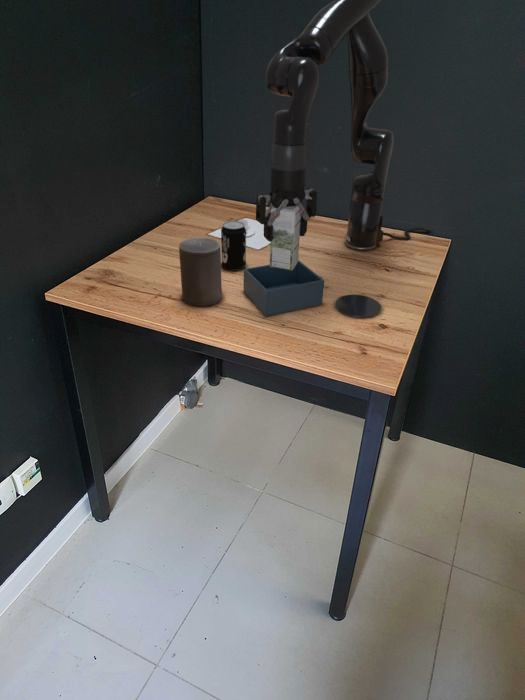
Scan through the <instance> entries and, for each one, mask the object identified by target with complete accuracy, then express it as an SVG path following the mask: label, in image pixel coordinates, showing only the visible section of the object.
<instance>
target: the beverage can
mask: <svg viewBox="0 0 525 700" xmlns="http://www.w3.org/2000/svg"><path fill="white" fill-rule="evenodd" d="M221 228H222V229H221ZM221 228H220V229H221V238H220V239H221V242H220V243H221V266H222V267H224V269H226V270H228V271H239V270H242V269H244V267H245V266H246V265H247V246H246V229H245V227H244V223H242V222H239V221H238V220H228V221H225V222H223V223H222V227H221Z"/></svg>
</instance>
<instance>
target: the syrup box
mask: <svg viewBox="0 0 525 700" xmlns="http://www.w3.org/2000/svg"><path fill="white" fill-rule="evenodd" d="M276 209H277V208H275V207H274V206H272V208H271V212H272V211H273V212H274V211H275V210H276ZM300 224H301V214H300V212H299V206H289V207H285V208H284V209H282V210H280V215H279V217H278V218H276V219H275V221H274V222H273V224H272V226H273V239H272V241H270V244H269V265H270V267H273V268H279V269H285V270H291V271H292V270H293V269H294V267H295V266H296V264H297V263H298V260H299V261H300V259H299V255H300V238H301V236H300Z"/></svg>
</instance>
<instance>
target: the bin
mask: <svg viewBox="0 0 525 700" xmlns="http://www.w3.org/2000/svg"><path fill="white" fill-rule="evenodd" d="M324 289H325V279H323V278H322V277H320V275H318V274H317V273H315V272H314V271H313V270H312V269H311V268H310V267H308V265H306V264H304V263H303V262H302V261H301V260H300V259H299V260H298V263H297V264H296V266H295V267H294V269H293V270H292V271H291V270H285V269H279V268H273V267H270V264H264V265H259V266H253V267H247V268H243V293H244V294H245V296H246V297H247V298H248V299H249V300H250V301H251V302H252V303H253V304H254V305H255V306H256V307H257V308H258V310H259V311H260V312H261V314H263V315H264V316H265V317H270V316H274V315H278V314H283V313H287V312H293V311H298V310H302V309H307V308H311V307H315V306H321V305H323V301H324V300H323V299H324Z"/></svg>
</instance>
